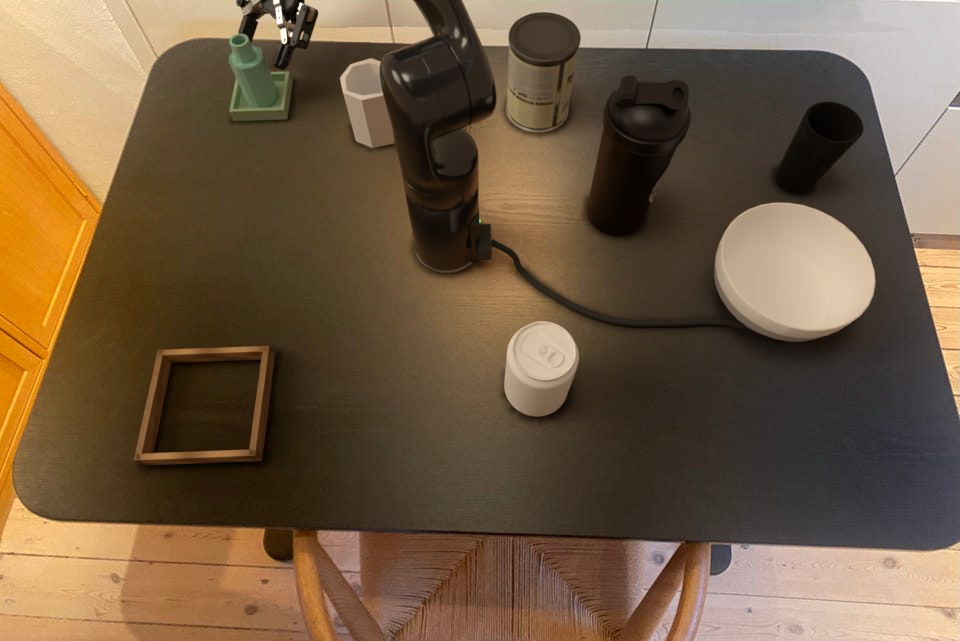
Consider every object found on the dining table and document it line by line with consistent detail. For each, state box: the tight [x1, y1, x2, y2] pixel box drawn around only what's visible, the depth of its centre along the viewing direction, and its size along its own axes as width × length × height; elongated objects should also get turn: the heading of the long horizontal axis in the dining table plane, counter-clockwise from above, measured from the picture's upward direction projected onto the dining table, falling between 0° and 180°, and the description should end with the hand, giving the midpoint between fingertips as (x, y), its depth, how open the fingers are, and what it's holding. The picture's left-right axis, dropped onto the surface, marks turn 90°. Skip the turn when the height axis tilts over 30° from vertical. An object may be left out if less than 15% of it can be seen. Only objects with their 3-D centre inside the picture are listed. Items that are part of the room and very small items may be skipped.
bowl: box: [713, 202, 876, 342], centre depth 79 cm, size 19×19×9 cm
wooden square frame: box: [133, 345, 276, 466], centre depth 75 cm, size 14×14×3 cm
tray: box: [228, 70, 294, 122], centre depth 99 cm, size 9×9×2 cm
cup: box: [774, 101, 864, 195], centre depth 87 cm, size 8×8×12 cm
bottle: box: [228, 33, 279, 108], centre depth 95 cm, size 5×5×11 cm
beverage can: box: [503, 320, 580, 417], centre depth 72 cm, size 8×8×12 cm
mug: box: [339, 57, 395, 149], centre depth 93 cm, size 12×9×10 cm
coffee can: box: [505, 11, 582, 134], centre depth 93 cm, size 10×10×14 cm
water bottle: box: [586, 75, 692, 237], centre depth 79 cm, size 10×10×23 cm
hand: (260, 55), depth 94 cm, fingers open, 8 cm apart
